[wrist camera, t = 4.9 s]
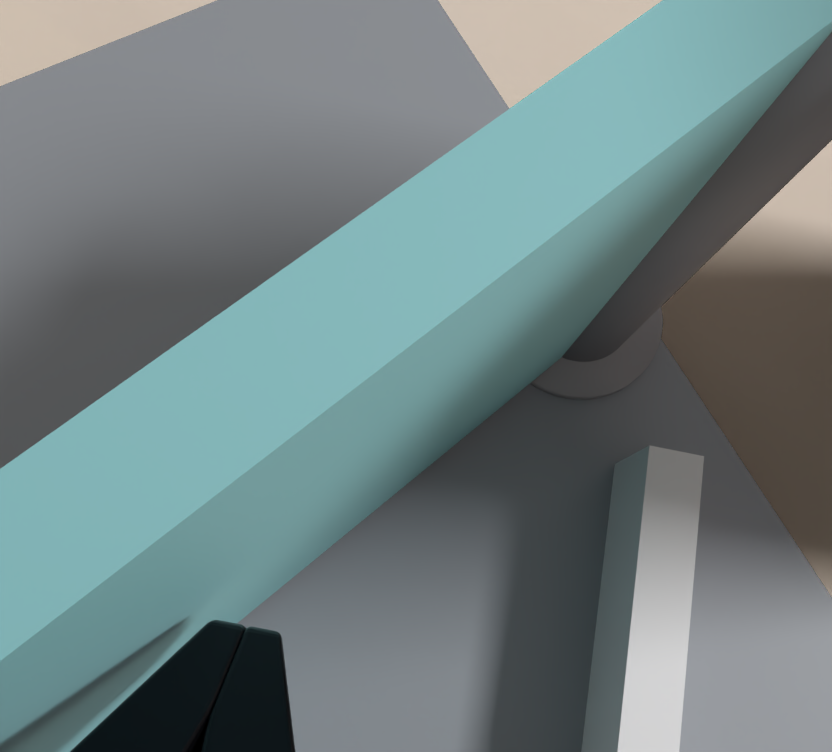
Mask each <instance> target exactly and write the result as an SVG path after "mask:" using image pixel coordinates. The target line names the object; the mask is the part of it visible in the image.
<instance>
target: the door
mask: <svg viewBox="0 0 832 752" xmlns="http://www.w3.org/2000/svg"><path fill="white" fill-rule="evenodd" d="M831 140H832V0H663V1H661V2H660V3H658V4H657V5H656V6H654V7H653V8H651V9H650V10H648V11H647V12H646V13H644V14H643V15H641V16H640V17H639V18H637V19H636V20H634V21H633V22H632V23H630V24H629V25H627V26H626V27H624V28H623V29H622V30H620V31H619V32H617V33H616V34H615V35H613V36H612V37H610V38H609V39H607V40H606V41H605V42H603V43H602V44H600V45H599V46H598V47H596V48H595V49H593V50H592V51H591V52H589V53H588V54H586V55H585V56H583V57H582V58H581V59H579V60H578V61H576V62H575V63H574V64H572V65H571V66H569V67H568V68H566V69H565V70H564V71H562V72H561V73H559V74H558V75H557V76H555V77H554V78H552V79H551V80H549V81H548V82H547V83H545V84H544V85H542V86H541V87H540V88H538V89H537V90H535V91H534V92H533V93H531V94H530V95H528V96H527V97H525V98H524V99H523V100H521V101H520V102H518V103H517V104H516V105H514V106H513V107H511V108H510V109H508V110H507V111H506V112H504V113H503V114H501V115H500V116H499V117H497V118H496V119H494V120H493V121H491V122H490V123H489V124H487V125H486V126H484V127H483V128H482V129H480V130H479V131H477V132H476V133H475V134H473V135H472V136H470V137H469V138H467V139H466V140H465V141H463V142H462V143H460V144H459V145H458V146H456V147H455V148H453V149H452V150H450V151H449V152H448V153H446V154H445V155H443V156H442V157H441V158H439V159H438V160H436V161H435V162H433V163H432V164H431V165H429V166H428V167H426V168H425V169H424V170H422V171H421V172H419V173H418V174H417V175H415V176H414V177H412V178H411V179H409V180H408V181H407V182H405V183H404V184H402V185H401V186H400V187H398V188H397V189H395V190H394V191H392V192H391V193H390V194H388V195H387V196H385V197H384V198H383V199H381V200H380V201H378V202H377V203H375V204H374V205H373V206H371V207H370V208H368V209H367V210H366V211H364V212H363V213H361V214H360V215H359V216H357V217H356V218H354V219H353V220H351V221H350V222H349V223H347V224H346V225H344V226H343V227H342V228H340V229H339V230H337V231H336V232H334V233H333V234H332V235H330V236H329V237H327V238H326V239H325V240H323V241H322V242H320V243H319V244H318V245H316V246H315V247H313V248H312V249H310V250H309V251H308V252H306V253H305V254H303V255H302V256H301V257H299V258H298V259H296V260H295V261H293V262H292V263H291V264H289V265H288V266H286V267H285V268H284V269H282V270H281V271H279V272H278V273H276V274H275V275H274V276H272V277H271V278H269V279H268V280H267V281H265V282H264V283H262V284H261V285H260V286H258V287H257V288H255V289H254V290H252V291H251V292H250V293H248V294H247V295H245V296H244V297H243V298H241V299H240V300H238V301H237V302H235V303H234V304H233V305H231V306H230V307H228V308H227V309H226V310H224V311H223V312H221V313H220V314H218V315H217V316H216V317H214V318H213V319H211V320H210V321H209V322H207V323H206V324H204V325H203V326H202V327H200V328H199V329H197V330H196V331H194V332H193V333H192V334H190V335H189V336H187V337H186V338H185V339H183V340H182V341H180V342H179V343H177V344H176V345H175V346H173V347H172V348H170V349H169V350H168V351H166V352H165V353H163V354H162V355H160V356H159V357H158V358H156V359H155V360H153V361H152V362H151V363H149V364H148V365H146V366H145V367H144V368H142V369H141V370H139V371H138V372H136V373H135V374H134V375H132V376H131V377H129V378H128V379H127V380H125V381H124V382H122V383H121V384H119V385H118V386H117V387H115V388H114V389H112V390H111V391H110V392H108V393H107V394H105V395H104V396H102V397H101V398H100V399H98V400H97V401H95V402H94V403H93V404H91V405H90V406H88V407H87V408H86V409H84V410H83V411H81V412H80V413H78V414H77V415H76V416H74V417H73V418H71V419H70V420H69V421H67V422H66V423H64V424H63V425H61V426H60V427H59V428H57V429H56V430H54V431H53V432H52V433H50V434H49V435H47V436H46V437H44V438H43V439H42V440H40V441H39V442H37V443H36V444H35V445H33V446H32V447H30V448H29V449H28V450H26V451H25V452H23V453H22V454H20V455H19V456H18V457H16V458H15V459H13V460H12V461H11V462H9V463H8V464H6V465H5V466H3V467H2V468H1V469H0V752H70V751H71V750H72V749H73V748H74V747H75V746H76V745H78V744H79V743H80V742H81V741H82V740H83V739H84V738H85V737H86V736H87V735H88V734H89V733H90V732H91V731H92V730H94V729H95V728H96V727H97V726H98V725H99V724H100V723H101V722H102V721H103V720H104V719H105V718H106V717H107V716H109V715H110V714H111V713H112V712H113V711H114V710H115V709H116V708H117V707H118V706H119V705H120V704H121V703H122V702H123V701H125V700H126V699H127V698H128V697H129V696H130V695H131V694H132V693H133V692H134V691H135V690H136V689H137V688H138V687H139V686H141V685H142V684H143V683H144V682H145V681H146V680H147V679H148V678H149V677H150V676H151V675H152V674H153V673H154V672H156V671H157V670H158V669H159V668H160V667H161V666H162V665H163V664H164V663H165V662H166V661H167V660H168V659H169V658H170V657H172V656H173V655H174V654H175V653H176V652H177V651H178V650H179V649H180V648H181V647H182V646H183V645H184V644H185V643H186V642H188V641H189V640H190V639H191V638H192V637H193V636H194V635H195V634H196V633H197V632H198V631H199V630H200V629H201V628H203V627H204V626H205V625H206V624H207V623H208V622H210V621H212V620H221V621H226V622H232V623H238V622H239V621H241V620H242V619H243V618H244V617H245V616H247V615H248V614H249V613H250V612H251V611H253V610H254V609H255V608H256V607H258V606H259V605H260V604H261V603H262V602H264V601H265V600H266V599H267V598H269V597H270V596H271V595H272V594H273V593H275V592H276V591H277V590H278V589H280V588H281V587H282V586H283V585H284V584H286V583H287V582H288V581H289V580H291V579H292V578H293V577H294V576H295V575H297V574H298V573H299V572H300V571H302V570H303V569H304V568H305V567H306V566H308V565H309V564H310V563H311V562H312V561H314V560H315V559H316V558H317V557H319V556H320V555H321V554H322V553H323V552H325V551H326V550H327V549H328V548H330V547H331V546H332V545H333V544H334V543H336V542H337V541H338V540H339V539H341V538H342V537H343V536H344V535H345V534H347V533H348V532H349V531H350V530H352V529H353V528H354V527H355V526H356V525H358V524H359V523H360V522H361V521H363V520H364V519H365V518H366V517H367V516H369V515H370V514H371V513H372V512H374V511H375V510H376V509H377V508H378V507H380V506H381V505H382V504H383V503H384V502H386V501H387V500H388V499H389V498H391V497H392V496H393V495H394V494H395V493H397V492H398V491H399V490H400V489H402V488H403V487H404V486H405V485H406V484H408V483H409V482H410V481H411V480H413V479H414V478H415V477H416V476H417V475H419V474H420V473H421V472H422V471H424V470H425V469H426V468H427V467H428V466H430V465H431V464H432V463H433V462H435V461H436V460H437V459H438V458H439V457H441V456H442V455H443V454H444V453H446V452H447V451H448V450H449V449H450V448H452V447H453V446H454V445H455V444H456V443H458V442H459V441H460V440H461V439H463V438H464V437H465V436H466V435H467V434H469V433H470V432H471V431H472V430H474V429H475V428H476V427H477V426H478V425H480V424H481V423H482V422H483V421H485V420H486V419H487V418H488V417H489V416H491V415H492V414H493V413H494V412H496V411H497V410H498V409H499V408H500V407H502V406H503V405H504V404H505V403H507V402H508V401H509V400H510V399H511V398H513V397H514V396H515V395H516V394H517V393H519V392H520V391H521V390H522V389H524V388H525V387H526V386H527V385H528V384H530V383H531V382H532V381H533V380H535V379H536V378H537V377H538V376H539V375H541V374H542V373H543V372H544V371H546V370H547V369H548V368H549V367H550V366H552V365H553V364H554V363H555V362H557V361H558V360H559V359H560V358H561V357H563V358H565V359H568V360H572V361H578V362H589V361H595V360H599V359H602V358H605V357H607V356H609V355H611V354H612V353H613V352H615V351H616V350H617V349H618V348H619V347H620V346H621V345H622V344H623V343H624V342H625V341H626V340H627V339H628V338H629V337H630V336H631V335H632V334H633V333H634V332H635V331H637V330H638V329H639V328H640V327H641V326H642V325H643V324H644V323H645V322H646V321H647V320H648V319H649V318H650V317H651V316H652V315H653V314H654V313H655V312H656V311H657V310H658V309H659V308H660V307H661V306H662V305H663V304H664V303H665V302H666V301H667V300H668V299H669V298H670V297H671V296H672V295H673V294H674V293H675V292H676V291H678V290H679V289H680V288H681V287H682V286H683V285H684V284H685V283H686V282H687V281H688V280H689V279H690V278H691V277H692V276H693V275H694V274H695V273H696V272H697V271H698V270H699V269H700V268H701V267H702V266H703V265H704V264H705V263H706V262H707V261H708V260H709V259H710V258H711V257H712V256H713V255H714V254H715V253H716V252H717V251H719V250H720V249H721V248H722V247H723V246H724V245H725V244H726V243H727V242H728V241H729V240H730V239H731V238H732V237H733V236H734V235H735V234H736V233H737V232H738V231H739V230H740V229H741V228H742V227H743V226H744V225H745V224H746V223H747V222H748V221H749V220H750V219H751V218H752V217H753V216H754V215H755V214H756V213H757V212H758V211H760V210H761V209H762V208H763V207H764V206H765V205H766V204H767V203H768V202H769V201H770V200H771V199H772V198H773V197H774V196H775V195H776V194H777V193H778V192H779V191H780V190H781V189H782V188H783V187H784V186H785V185H786V184H787V183H788V182H789V181H790V180H791V179H792V178H793V177H794V176H795V175H796V174H797V173H798V172H799V171H801V170H802V169H803V168H804V167H805V166H806V165H807V164H808V163H809V162H810V161H811V160H812V159H813V158H814V157H815V156H816V155H817V154H818V153H819V152H820V151H821V150H822V149H823V148H824V147H825V146H826V145H827V144H828V143H829V142H830V141H831Z"/></svg>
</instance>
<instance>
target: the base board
mask: <svg viewBox="0 0 832 752" xmlns="http://www.w3.org/2000/svg"><path fill="white" fill-rule="evenodd" d="M508 109H509V108H508V106H507V105H506V103H505V101H504V100H503V98H502V97H501V95H500V94H499V92H498V91H497V89H496V88H495V86H494V85H493V83H492V82H491V80H490V79H489V77H488V76H487V74H486V73H485V71H484V70H483V68H482V67H481V65H480V64H479V62H478V61H477V59H476V58H475V56H474V54H473V53H472V51H471V50H470V48H469V47H468V45H467V44H466V42H465V41H464V39H463V38H462V36H461V35H460V33H459V32H458V30H457V29H456V27H455V26H454V24H453V23H452V21H451V20H450V18H449V17H448V15H447V14H446V12H445V11H444V9H443V8H442V6H441V4H440V3H439V1H438V0H217V1H215V2H212V3H210V4H207V5H205V6H202V7H199V8H197V9H194V10H192V11H189V12H187V13H184V14H182V15H179V16H177V17H174V18H172V19H169V20H167V21H164V22H162V23H159V24H157V25H154V26H152V27H149V28H146V29H144V30H141V31H139V32H136V33H134V34H131V35H129V36H126V37H124V38H121V39H119V40H116V41H114V42H111V43H109V44H106V45H104V46H101V47H98V48H96V49H93V50H91V51H88V52H86V53H83V54H81V55H78V56H76V57H73V58H71V59H68V60H66V61H63V62H61V63H58V64H56V65H53V66H51V67H48V68H45V69H43V70H40V71H38V72H35V73H33V74H30V75H28V76H25V77H23V78H20V79H18V80H15V81H13V82H10V83H8V84H5V85H3V86H0V469H1V468H2V467H3V466H5V465H6V464H8V463H9V462H11V461H12V460H13V459H15V458H16V457H18V456H19V455H20V454H22V453H23V452H25V451H26V450H28V449H29V448H30V447H32V446H33V445H35V444H36V443H37V442H39V441H40V440H42V439H43V438H44V437H46V436H47V435H49V434H50V433H52V432H53V431H54V430H56V429H57V428H59V427H60V426H61V425H63V424H64V423H66V422H67V421H69V420H70V419H71V418H73V417H74V416H76V415H77V414H78V413H80V412H81V411H83V410H84V409H86V408H87V407H88V406H90V405H91V404H93V403H94V402H95V401H97V400H98V399H100V398H101V397H102V396H104V395H105V394H107V393H108V392H110V391H111V390H112V389H114V388H115V387H117V386H118V385H119V384H121V383H122V382H124V381H125V380H127V379H128V378H129V377H131V376H132V375H134V374H135V373H136V372H138V371H139V370H141V369H142V368H144V367H145V366H146V365H148V364H149V363H151V362H152V361H153V360H155V359H156V358H158V357H159V356H160V355H162V354H163V353H165V352H166V351H168V350H169V349H170V348H172V347H173V346H175V345H176V344H177V343H179V342H180V341H182V340H183V339H185V338H186V337H187V336H189V335H190V334H192V333H193V332H194V331H196V330H197V329H199V328H200V327H202V326H203V325H204V324H206V323H207V322H209V321H210V320H211V319H213V318H214V317H216V316H217V315H218V314H220V313H221V312H223V311H224V310H226V309H227V308H228V307H230V306H231V305H233V304H234V303H235V302H237V301H238V300H240V299H241V298H243V297H244V296H245V295H247V294H248V293H250V292H251V291H252V290H254V289H255V288H257V287H258V286H260V285H261V284H262V283H264V282H265V281H267V280H268V279H269V278H271V277H272V276H274V275H275V274H276V273H278V272H279V271H281V270H282V269H284V268H285V267H286V266H288V265H289V264H291V263H292V262H293V261H295V260H296V259H298V258H299V257H301V256H302V255H303V254H305V253H306V252H308V251H309V250H310V249H312V248H313V247H315V246H316V245H318V244H319V243H320V242H322V241H323V240H325V239H326V238H327V237H329V236H330V235H332V234H333V233H334V232H336V231H337V230H339V229H340V228H342V227H343V226H344V225H346V224H347V223H349V222H350V221H351V220H353V219H354V218H356V217H357V216H359V215H360V214H361V213H363V212H364V211H366V210H367V209H368V208H370V207H371V206H373V205H374V204H375V203H377V202H378V201H380V200H381V199H383V198H384V197H385V196H387V195H388V194H390V193H391V192H392V191H394V190H395V189H397V188H398V187H400V186H401V185H402V184H404V183H405V182H407V181H408V180H409V179H411V178H412V177H414V176H415V175H417V174H418V173H419V172H421V171H422V170H424V169H425V168H426V167H428V166H429V165H431V164H432V163H433V162H435V161H436V160H438V159H439V158H441V157H442V156H443V155H445V154H446V153H448V152H449V151H450V150H452V149H453V148H455V147H456V146H458V145H459V144H460V143H462V142H463V141H465V140H466V139H467V138H469V137H470V136H472V135H473V134H475V133H476V132H477V131H479V130H480V129H482V128H483V127H484V126H486V125H487V124H489V123H490V122H491V121H493V120H494V119H496V118H497V117H499V116H500V115H501V114H503V113H504V112H506V111H507V110H508ZM662 328H663V316H662V309H661V307H660V308H659V309H658V310H657V311H656V312H655V313H654V314H653V315H652V316H651V317H650V318H649V319H648V320H647V321H646V322H645V323H644V324H643V325H642V326H641V327H640V328H639V329H638V330H637V331H635V332H634V333H633V334H632V335H631V336H630V337H629V338H628V339H627V340H626V341H625V342H624V343H623V344H622V345H621V346H620V347H619V348H618V349H617V350H616V351H615V352H613V353H612V354H611V355H609V356H607V357H605V358H602V359H599V360H595V361H589V362H578V361H572V360H568V359H565V358H563V357H561V358H560V359H559V360H558V361H557V362H555V363H554V364H553V365H552V366H550V367H549V368H548V369H547V370H546V371H544V372H543V373H542V374H541V375H539V376H538V377H537V378H536V379H535V380H533V381H532V382H531V383H530V384H528V385H527V386H526V387H525V388H524V389H522V390H521V391H520V392H519V393H517V394H516V395H515V396H514V397H513V398H511V399H510V400H509V401H508V402H507V403H505V404H504V405H503V406H502V407H500V408H499V409H498V410H497V411H496V412H494V413H493V414H492V415H491V416H489V417H488V418H487V419H486V420H485V421H483V422H482V423H481V424H480V425H478V426H477V427H476V428H475V429H474V430H472V431H471V432H470V433H469V434H467V435H466V436H465V437H464V438H463V439H461V440H460V441H459V442H458V443H456V444H455V445H454V446H453V447H452V448H450V449H449V450H448V451H447V452H446V453H444V454H443V455H442V456H441V457H439V458H438V459H437V460H436V461H435V462H433V463H432V464H431V465H430V466H428V467H427V468H426V469H425V470H424V471H422V472H421V473H420V474H419V475H417V476H416V477H415V478H414V479H413V480H411V481H410V482H409V483H408V484H406V485H405V486H404V487H403V488H402V489H400V490H399V491H398V492H397V493H395V494H394V495H393V496H392V497H391V498H389V499H388V500H387V501H386V502H384V503H383V504H382V505H381V506H380V507H378V508H377V509H376V510H375V511H374V512H372V513H371V514H370V515H369V516H367V517H366V518H365V519H364V520H363V521H361V522H360V523H359V524H358V525H356V526H355V527H354V528H353V529H352V530H350V531H349V532H348V533H347V534H345V535H344V536H343V537H342V538H341V539H339V540H338V541H337V542H336V543H334V544H333V545H332V546H331V547H330V548H328V549H327V550H326V551H325V552H323V553H322V554H321V555H320V556H319V557H317V558H316V559H315V560H314V561H312V562H311V563H310V564H309V565H308V566H306V567H305V568H304V569H303V570H302V571H300V572H299V573H298V574H297V575H295V576H294V577H293V578H292V579H291V580H289V581H288V582H287V583H286V584H284V585H283V586H282V587H281V588H280V589H278V590H277V591H276V592H275V593H273V594H272V595H271V596H270V597H269V598H267V599H266V600H265V601H264V602H262V603H261V604H260V605H259V606H258V607H256V608H255V609H254V610H253V611H251V612H250V613H249V614H248V615H247V616H245V617H244V618H243V619H242V620H241V621H239V622H238V623H237V624H242V625H243V626H245V627H246V628H247V627H257V628H263V629H268V630H273V631H277V632H279V633H280V635H281V637H282V643H283V651H284V660H285V668H286V676H287V685H288V693H289V702H290V710H291V718H292V727H293V735H294V744H295V752H832V597H831V596H830V594H829V593H828V591H827V590H826V588H825V587H824V585H823V583H822V582H821V580H820V579H819V577H818V576H817V574H816V573H815V571H814V570H813V568H812V567H811V565H810V564H809V562H808V561H807V559H806V558H805V556H804V555H803V553H802V552H801V550H800V549H799V547H798V546H797V544H796V543H795V541H794V540H793V538H792V537H791V535H790V533H789V532H788V530H787V529H786V527H785V526H784V524H783V523H782V521H781V520H780V518H779V517H778V515H777V514H776V512H775V511H774V509H773V508H772V506H771V505H770V503H769V502H768V500H767V499H766V497H765V496H764V494H763V493H762V491H761V490H760V488H759V486H758V485H757V483H756V482H755V480H754V479H753V477H752V476H751V474H750V473H749V471H748V470H747V468H746V467H745V465H744V464H743V462H742V461H741V459H740V458H739V456H738V455H737V453H736V452H735V450H734V449H733V447H732V446H731V444H730V443H729V441H728V439H727V438H726V436H725V435H724V433H723V432H722V430H721V429H720V427H719V426H718V424H717V423H716V421H715V420H714V418H713V417H712V415H711V414H710V412H709V411H708V409H707V408H706V406H705V405H704V403H703V402H702V400H701V399H700V397H699V396H698V394H697V393H696V391H695V389H694V388H693V386H692V385H691V383H690V382H689V380H688V379H687V377H686V376H685V374H684V373H683V371H682V370H681V368H680V367H679V365H678V364H677V362H676V361H675V359H674V358H673V356H672V355H671V353H670V352H669V350H668V349H667V347H666V346H665V344H664V342H663V341H662V339H661V335H662Z"/></svg>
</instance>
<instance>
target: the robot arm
mask: <svg viewBox="0 0 832 752" xmlns="http://www.w3.org/2000/svg"><path fill="white" fill-rule="evenodd" d="M70 752H295V744H294V735H293V727H292V718H291V710H290V702H289V693H288V685H287V676H286V668H285V660H284V651H283V643H282V637H281V635H280V633H279V632H277V631H273V630H268V629H263V628H257V627H247V628H246V627H245V626H243V625H242V624H237V623H232V622H226V621H221V620H212V621H210V622H208V623H207V624H206V625H205V626H204V627H203V628H201V629H200V630H199V631H198V632H197V633H196V634H195V635H194V636H193V637H192V638H191V639H190V640H189V641H188V642H186V643H185V644H184V645H183V646H182V647H181V648H180V649H179V650H178V651H177V652H176V653H175V654H174V655H173V656H172V657H170V658H169V659H168V660H167V661H166V662H165V663H164V664H163V665H162V666H161V667H160V668H159V669H158V670H157V671H156V672H154V673H153V674H152V675H151V676H150V677H149V678H148V679H147V680H146V681H145V682H144V683H143V684H142V685H141V686H139V687H138V688H137V689H136V690H135V691H134V692H133V693H132V694H131V695H130V696H129V697H128V698H127V699H126V700H125V701H123V702H122V703H121V704H120V705H119V706H118V707H117V708H116V709H115V710H114V711H113V712H112V713H111V714H110V715H109V716H107V717H106V718H105V719H104V720H103V721H102V722H101V723H100V724H99V725H98V726H97V727H96V728H95V729H94V730H92V731H91V732H90V733H89V734H88V735H87V736H86V737H85V738H84V739H83V740H82V741H81V742H80V743H79V744H78V745H76V746H75V747H74V748H73V749H72V750H71V751H70Z"/></svg>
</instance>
